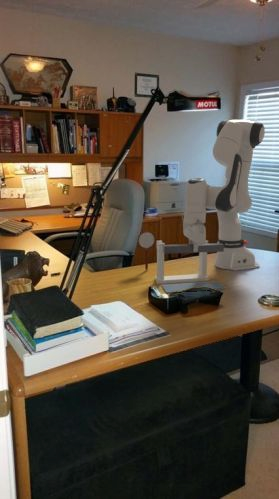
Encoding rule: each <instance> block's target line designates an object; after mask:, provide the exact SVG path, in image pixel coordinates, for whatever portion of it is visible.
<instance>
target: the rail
mask: <svg viewBox="0 0 279 499" xmlns="http://www.w3.org/2000/svg"><path fill="white" fill-rule="evenodd" d="M193 246H194V244H189V243H184V244H183V243H182V244H181V243H180V244H179V243H178V244H165V245H163V253H164V254H186V253H187V254H190V253H194V254H195V253H196V254H197V253H199V252H207V253H217V252H224V245H223V244H222V243H217V242H215V243H214V242H213V243H208V244H199V246H198V251H197V252H194V251H193Z"/></svg>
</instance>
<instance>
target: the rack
mask: <svg viewBox="0 0 279 499" xmlns="http://www.w3.org/2000/svg"><path fill="white" fill-rule="evenodd" d="M205 244H209V240H206V242H205ZM163 245H166V243H165V242H163V240H156V276H154V281H155V282H156V283H157V285H160V284H161V285H164V284H179V283H193V282H208V281H210V276H208V274H207V272H208V252H198V253H199V254H198V273H192V274H180V275H179V274H178V275H175V274H174V275H165V253H163Z"/></svg>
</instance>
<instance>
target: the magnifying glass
mask: <svg viewBox="0 0 279 499" xmlns="http://www.w3.org/2000/svg"><path fill="white" fill-rule="evenodd" d="M155 242H156V237H155V235H154V234H153V232H151V231H146V230H145V231H143V232H141V233H140V234H139V235H138V236H137V244H138V245H139V247H140V248H142V249H144V254H145V255H144V256H145V257H144V258H145V260H144V261H145V262H144V264H145V271H146V272H147V271H148V269H149V266H148V265H149V263H148V262H149V260H148V259H149V256H148V254H149V252H148V251H149V250H148V249H150V248H152V247H153V246H154V245H155Z"/></svg>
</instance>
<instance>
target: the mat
mask: <svg viewBox="0 0 279 499" xmlns="http://www.w3.org/2000/svg"><path fill="white" fill-rule="evenodd" d="M161 287H162V289H163V290H164V292H165V294H167V293H168V294H173V293H172V292H176V291H182V290H186V289H189V288H193V287H210V288H213V289H215V290H214V291H221V290H226V289H227V288H226V286H224V285H223V284H222V283H220V282H219V280H212V281H211V280H209V281H194V282H180V283H165V284H161Z"/></svg>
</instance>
